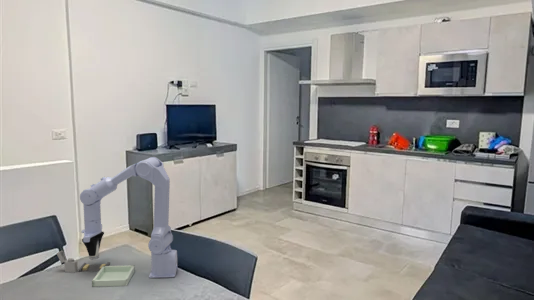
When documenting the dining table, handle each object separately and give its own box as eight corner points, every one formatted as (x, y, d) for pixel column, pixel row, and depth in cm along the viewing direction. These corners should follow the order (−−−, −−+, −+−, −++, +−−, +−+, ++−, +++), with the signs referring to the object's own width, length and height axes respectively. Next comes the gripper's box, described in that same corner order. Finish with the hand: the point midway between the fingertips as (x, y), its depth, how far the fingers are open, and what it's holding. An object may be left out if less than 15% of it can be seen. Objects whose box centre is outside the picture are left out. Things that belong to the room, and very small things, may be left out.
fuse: (100, 255, 143) (99, 239, 142) (97, 259, 140) (96, 243, 139) (91, 255, 143) (90, 239, 142) (87, 259, 139) (87, 243, 138)
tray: (134, 271, 140) (134, 265, 140) (126, 286, 129) (126, 280, 129) (103, 272, 139) (102, 266, 139) (92, 287, 128) (91, 281, 127)
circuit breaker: (77, 271, 139) (77, 251, 138) (75, 273, 138) (74, 253, 137) (60, 270, 140) (59, 250, 139) (57, 272, 138) (56, 252, 137)
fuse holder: (109, 265, 145) (109, 262, 145) (105, 272, 139) (104, 269, 139) (84, 265, 144) (84, 262, 144) (78, 272, 138) (78, 269, 138)
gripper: (88, 213, 146) (90, 246, 148) (73, 225, 132) (75, 261, 133) (107, 213, 147) (108, 245, 148) (94, 225, 132) (95, 261, 134)
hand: (94, 253), depth 141 cm, fingers closed on fuse, 3 cm apart
